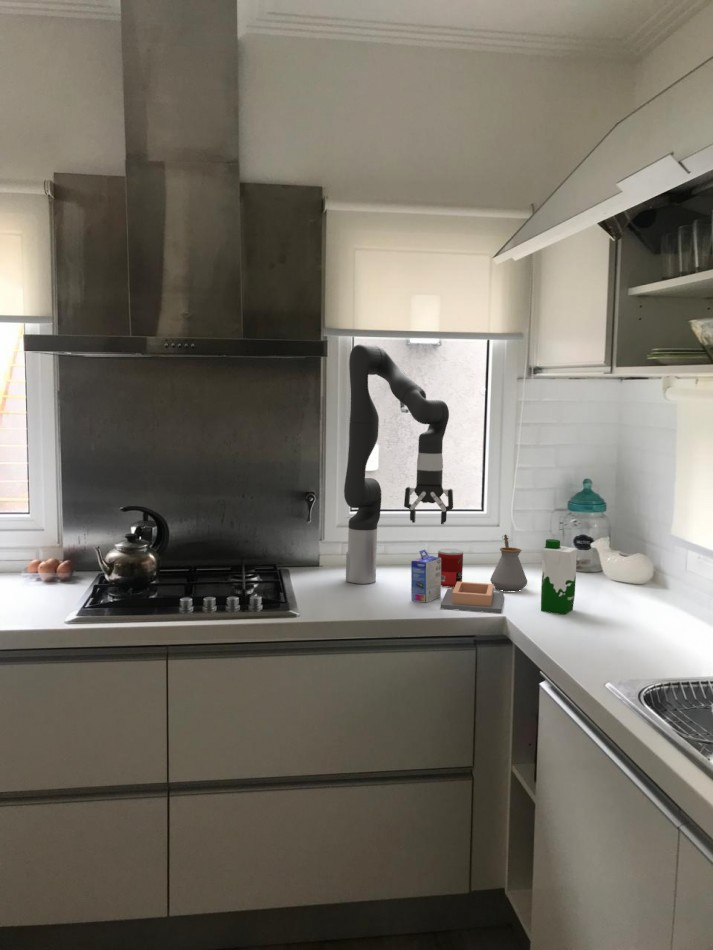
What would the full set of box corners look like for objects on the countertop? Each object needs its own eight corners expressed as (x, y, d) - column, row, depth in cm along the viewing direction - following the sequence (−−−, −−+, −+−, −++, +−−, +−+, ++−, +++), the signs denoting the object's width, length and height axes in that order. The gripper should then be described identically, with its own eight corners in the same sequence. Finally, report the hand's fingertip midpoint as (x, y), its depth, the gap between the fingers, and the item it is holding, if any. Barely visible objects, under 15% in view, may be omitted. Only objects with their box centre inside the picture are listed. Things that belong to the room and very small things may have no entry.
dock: (440, 608, 237) (440, 594, 236) (447, 592, 256) (448, 579, 256) (500, 613, 233) (501, 598, 233) (503, 596, 253) (504, 582, 252)
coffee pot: (529, 594, 256) (531, 546, 255) (491, 593, 257) (493, 545, 255) (521, 579, 277) (523, 534, 276) (486, 577, 278) (488, 533, 277)
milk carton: (546, 604, 244) (549, 537, 242) (577, 609, 239) (580, 540, 237) (536, 611, 236) (539, 541, 234) (568, 616, 232) (571, 545, 230)
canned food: (461, 588, 262) (462, 553, 261) (436, 586, 264) (437, 552, 263) (462, 582, 270) (463, 549, 269) (437, 581, 271) (438, 547, 270)
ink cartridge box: (425, 594, 253) (426, 547, 252) (441, 597, 250) (443, 549, 249) (409, 600, 245) (411, 552, 243) (426, 603, 242) (427, 554, 240)
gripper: (403, 468, 241) (402, 523, 243) (452, 470, 239) (451, 526, 240) (407, 466, 249) (406, 520, 250) (455, 468, 246) (453, 522, 247)
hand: (428, 523), depth 245 cm, fingers open, 8 cm apart
